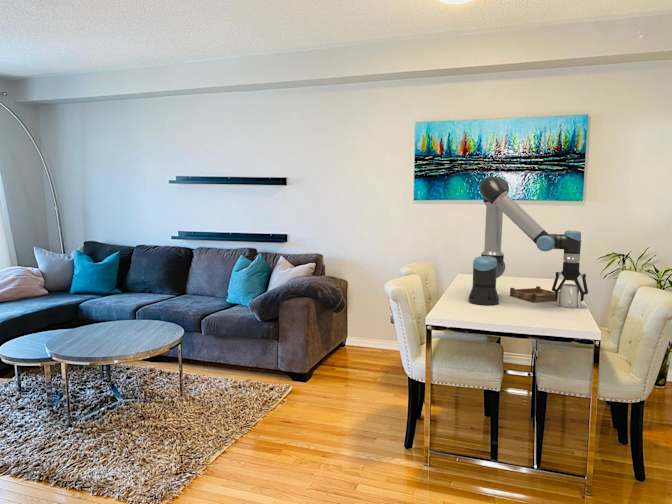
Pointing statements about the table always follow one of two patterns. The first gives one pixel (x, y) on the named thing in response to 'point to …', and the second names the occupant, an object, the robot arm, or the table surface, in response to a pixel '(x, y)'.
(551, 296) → the wooden tray
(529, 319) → the table surface
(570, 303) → the mug
